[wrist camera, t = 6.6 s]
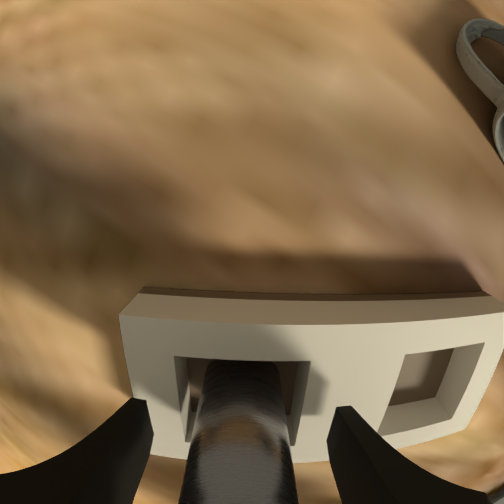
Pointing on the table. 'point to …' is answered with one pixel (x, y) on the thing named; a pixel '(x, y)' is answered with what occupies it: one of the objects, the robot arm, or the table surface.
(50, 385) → the table surface
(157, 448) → the board
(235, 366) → the pin
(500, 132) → the ceramic mug
